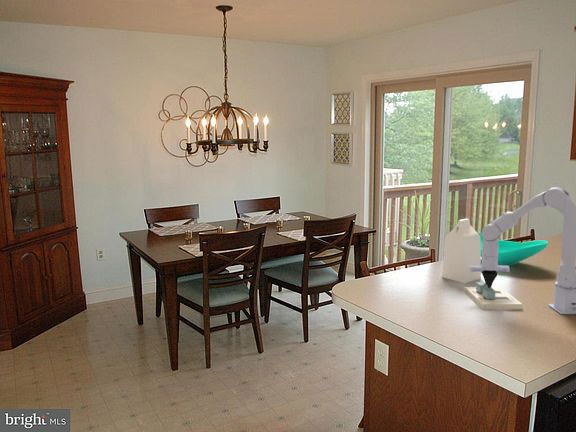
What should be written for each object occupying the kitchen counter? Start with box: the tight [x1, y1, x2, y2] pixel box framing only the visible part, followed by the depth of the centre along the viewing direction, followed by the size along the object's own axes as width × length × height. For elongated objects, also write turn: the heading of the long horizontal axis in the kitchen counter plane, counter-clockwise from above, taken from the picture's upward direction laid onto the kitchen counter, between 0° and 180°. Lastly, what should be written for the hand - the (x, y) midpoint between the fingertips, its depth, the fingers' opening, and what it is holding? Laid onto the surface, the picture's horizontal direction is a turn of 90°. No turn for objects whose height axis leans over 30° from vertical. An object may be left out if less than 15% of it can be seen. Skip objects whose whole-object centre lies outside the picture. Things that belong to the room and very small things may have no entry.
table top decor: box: [476, 231, 549, 267], centre depth 236 cm, size 40×28×13 cm
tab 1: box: [475, 281, 488, 293], centre depth 189 cm, size 4×3×3 cm
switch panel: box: [464, 286, 523, 310], centre depth 186 cm, size 20×14×2 cm
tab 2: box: [483, 288, 496, 299], centre depth 182 cm, size 4×3×3 cm
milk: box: [441, 218, 482, 284], centre depth 214 cm, size 12×12×26 cm
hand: (488, 289), depth 189 cm, fingers closed
